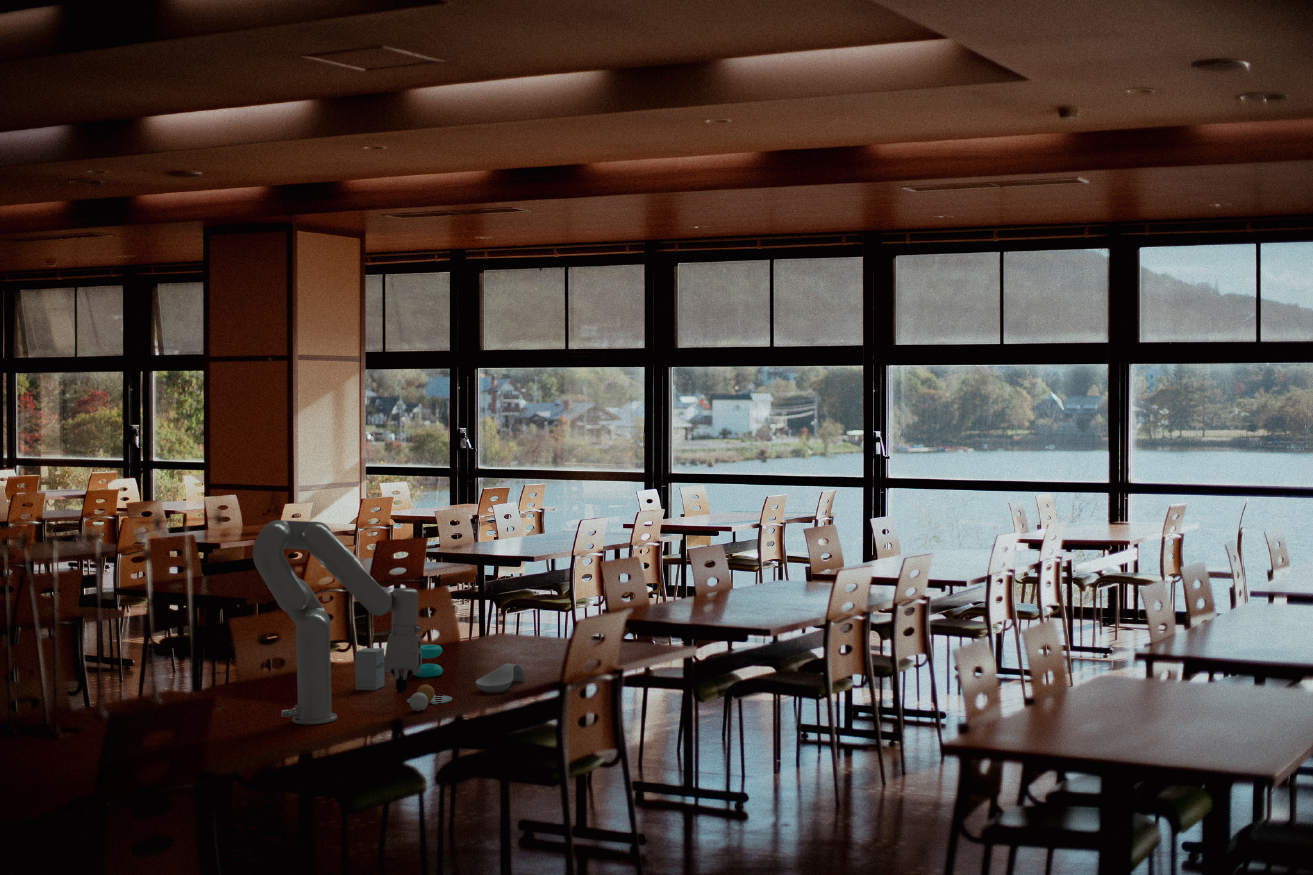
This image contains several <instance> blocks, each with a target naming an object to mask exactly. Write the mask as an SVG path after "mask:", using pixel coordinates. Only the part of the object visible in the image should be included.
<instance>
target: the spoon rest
mask: <svg viewBox="0 0 1313 875" xmlns="http://www.w3.org/2000/svg"><path fill="white" fill-rule="evenodd" d="M512 682H519V683H521V682H522V683H524V682H526V674H525V671H524V669H523V668H522V666H520V665H519V664H518V663H514V664H512V663H508V662H507V663H504V664H502V665H501V666H499V667H498V668H496V669H495V670H492V671H490V672H489V673H487V674H486V675H484V676H481V677H480V678H477V679H476V681H475V685H476V686H477V687H478V689H479V690H480V691H482V692H484V693H487V694H497V693H498V694H499V693H503V692H505V691H506V690H507V689H508V688H510V686H511V685H512ZM477 687H476V688H477Z"/></svg>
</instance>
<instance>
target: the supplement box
mask: <svg viewBox="0 0 1313 875" xmlns="http://www.w3.org/2000/svg"><path fill="white" fill-rule="evenodd" d="M354 652H355V653H354V655H355V657H354V658H355V661H354V662H355V665H354V666H355V668H354V669H355V690H356V691H357V690H358V691H361V690H362V691H377V690H378V689H380V688H382V687H385V648H383V647H382V648H380V647H379V648H378V647H377V648H375V647H369V648H368V647H366V648H361V649H359V650H357V651H354Z"/></svg>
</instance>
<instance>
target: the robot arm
mask: <svg viewBox="0 0 1313 875" xmlns="http://www.w3.org/2000/svg"><path fill="white" fill-rule="evenodd" d="M285 549H286V550H287V549H288V550H307V551H308V552H309V553H310V554H311V556H312V557H314V558H315V560H317V561H318V562H319V563H320V564H321V565H322V566H323V567H324V568H325V570H327V571H328V572H329V573H330V574H331V575H332V576H333V577H334V578H335V579H336V581H338V583H339V584H340V585H342V586H343V587H344V588H345V590H347V591H348V592H349V593H350V594H351V595H352V597H354V598H355V599H356V600H357V601H358V603H360V604H361V605H362V607H364V608H365V609H366V610H367V611H368V612H369V613H370V614H371V615H374V616H383V615H385V614H387V613H388V612H391V628H390V629H391V630H390V633H389V635H388V636H387V642H386V646H385V653H384V672H387V673H390V674H392V675H393V676H394V679H395V681H396V685H395V686H396V687H395V690H397V694H404V693H406V692H407V691H408V688H409V686H408V685H409V684H408V683H409V678H410V677H412V676H413V675H414V674H417V673H420V672H421V670H420V666H421V665H422V664H423V663H422V662H423V661H422V660H423V658H422V652H421V645H422V642H421V636H420V634H418V633H422V630H423V628H422V627H419V625H418V618H419V617H418V612H419V592H418V590H417V589H415V588H412V587H411V588H410V587H399V588H394V587H393V588H392V587H385V586H381V585H380V584H379V583H378V582H377V581H376V580H375V579H374V578H373V577H372V576H371V575H370V574H369V572H368V571H367V569H365V568H364V566H363V565H362V562H361V561H360V560H359V559H358V557H357V556H356V555H355V553H353V552H352V551H351V550H350V549H349V548H348V547H347V546H346V545H345V544H344V543H343V542H342V541H341V540H340V539H339V538H338V537H337V536H336V535H335V534H334V533H333V531H331V529H330V527H329V526H328V525H327V524H326V523H324V522H321V521H304V520H303V521H301V520H284V519H280V520H279V519H276V520H272V521H270V522H268V523H267V524H266V525H264V526H263V527H262V529H261V530H260V531H259V533H258V535H257V537H256V538H255V540H254V543H253V548H252V559H253V562H254V565H255V568H256V570H257V572H258V573H259V576H260V577H261V578H262V579H263V581H264V583H265V585H266V586H267V588H268V589H269V591H270V593H271V594H272V596H273V598H274V599H275V601H276V603H277V605H278V607H280V609H281V610H282V611H284V612H285V613H287V614H288V616H289V617H290V619H291V621H292V622H293V623H294V625H295V626H296V627H295V646H296V671H297V672H296V677H297V678H296V679H297V680H296V681H297V682H296V683H297V704H295V705H294V707H293V708H290V709H283V710H281V712H280V716H281V717H282V718H285V717H286V718H287V717H288V718H292V722H293V723H294V724H297V725H321V724H328V723H330V722H334V721H337V719H338V714H337V713H335V712H332V710H333V709H332V708H333V707H332V670H331V668H332V667H331V663H332V662H331V628H332V627H331V624H332V622H331V618H330V615H329V614H328V612H327V611H326V609H325V608H324V606H323V605H322V603H321V601H320V600H319V599H318V597H317V595H316V594H315V592H314V590H312V588H311V587H310V585H309V584H308V583H307V582H306V581H305V580H304V579H303V578H302V579H301V578H299V577H298V575H297V574H296V572H295V570H294V569H293V568H292V566H291V564H290V563H289V561H288V560H287V558H286V557H285V554H284V550H285ZM402 670H403V671H402ZM402 672H403V673H402Z"/></svg>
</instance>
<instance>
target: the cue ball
mask: <svg viewBox="0 0 1313 875" xmlns="http://www.w3.org/2000/svg"><path fill="white" fill-rule="evenodd" d="M409 699H410V704H409V706H410V708H411V709H412V710H413V711H415V712H421V711H420V710H422V711H424V710H425V709H426V708H427V707H428V706H429V705H428V698H427V696H426V695H425V694H423V693H420V692H418V693H417V692H415V693H413V694H412V695H411V696H410V698H409Z"/></svg>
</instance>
